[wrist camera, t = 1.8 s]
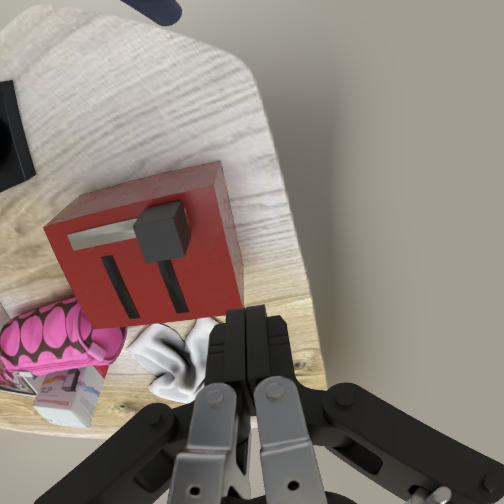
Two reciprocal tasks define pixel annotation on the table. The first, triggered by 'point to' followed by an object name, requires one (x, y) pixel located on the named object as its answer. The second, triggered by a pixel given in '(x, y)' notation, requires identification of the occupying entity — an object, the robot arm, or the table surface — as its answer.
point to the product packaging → (19, 383)
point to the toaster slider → (163, 232)
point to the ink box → (71, 395)
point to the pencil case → (56, 341)
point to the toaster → (131, 258)
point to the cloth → (174, 359)
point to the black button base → (12, 141)
